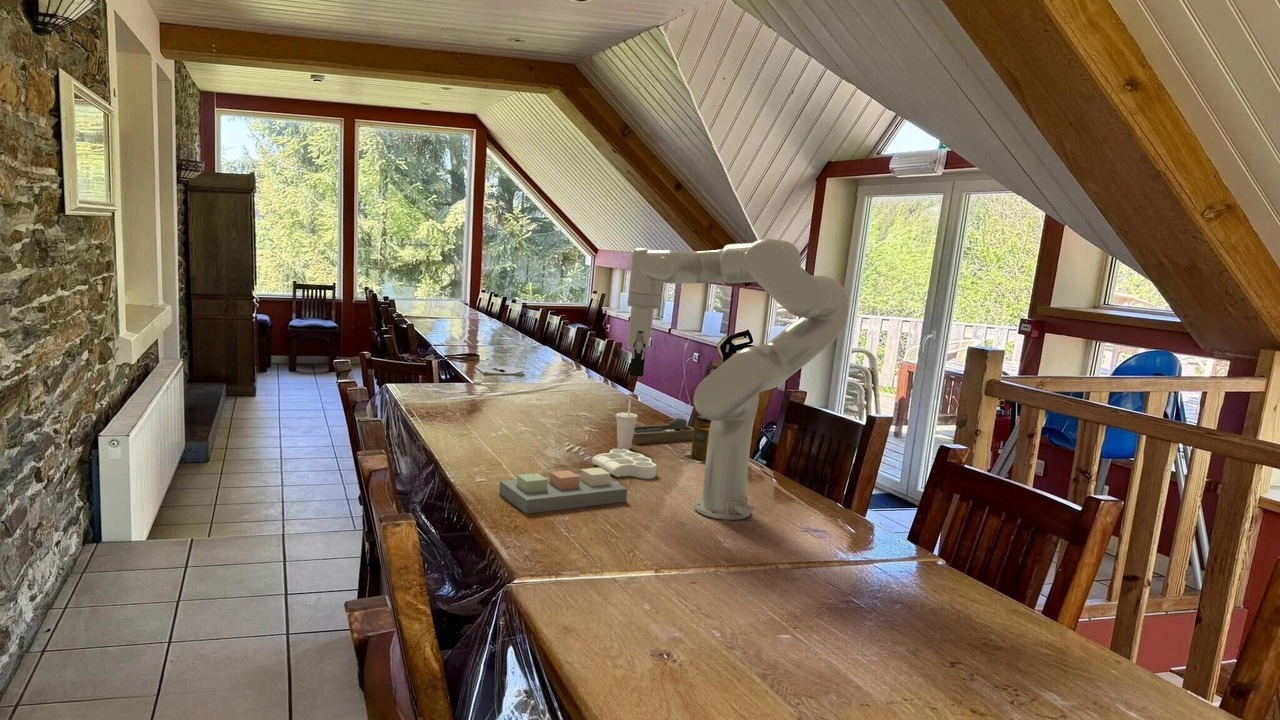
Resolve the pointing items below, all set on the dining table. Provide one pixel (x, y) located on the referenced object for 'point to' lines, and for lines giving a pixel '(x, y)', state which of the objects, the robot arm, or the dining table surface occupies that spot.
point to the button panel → (562, 496)
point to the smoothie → (625, 428)
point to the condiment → (699, 440)
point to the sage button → (532, 483)
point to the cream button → (595, 476)
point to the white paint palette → (626, 463)
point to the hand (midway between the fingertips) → (636, 372)
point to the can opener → (674, 426)
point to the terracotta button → (564, 479)
